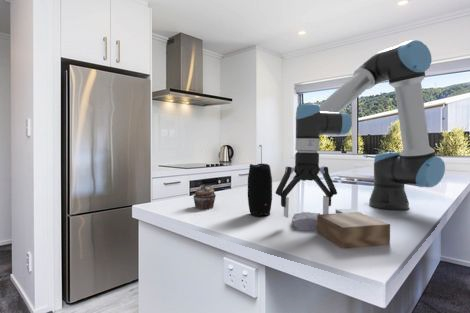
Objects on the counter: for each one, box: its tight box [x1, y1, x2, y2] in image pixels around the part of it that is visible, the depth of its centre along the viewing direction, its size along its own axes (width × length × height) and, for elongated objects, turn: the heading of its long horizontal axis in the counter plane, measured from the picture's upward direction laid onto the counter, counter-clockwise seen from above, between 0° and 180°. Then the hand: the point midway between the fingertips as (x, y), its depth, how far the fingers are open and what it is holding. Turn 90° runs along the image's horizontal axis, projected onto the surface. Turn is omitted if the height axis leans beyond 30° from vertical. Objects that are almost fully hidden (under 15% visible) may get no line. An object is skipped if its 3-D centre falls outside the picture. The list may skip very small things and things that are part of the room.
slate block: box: [335, 208, 362, 214], centre depth 97 cm, size 6×6×5 cm
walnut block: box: [316, 211, 391, 250], centre depth 84 cm, size 14×14×6 cm
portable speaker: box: [247, 163, 273, 218], centre depth 112 cm, size 9×9×20 cm
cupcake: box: [192, 184, 217, 211], centre depth 125 cm, size 10×10×10 cm
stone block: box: [291, 211, 321, 231], centre depth 98 cm, size 12×5×10 cm
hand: (305, 216), depth 96 cm, fingers open, 13 cm apart
